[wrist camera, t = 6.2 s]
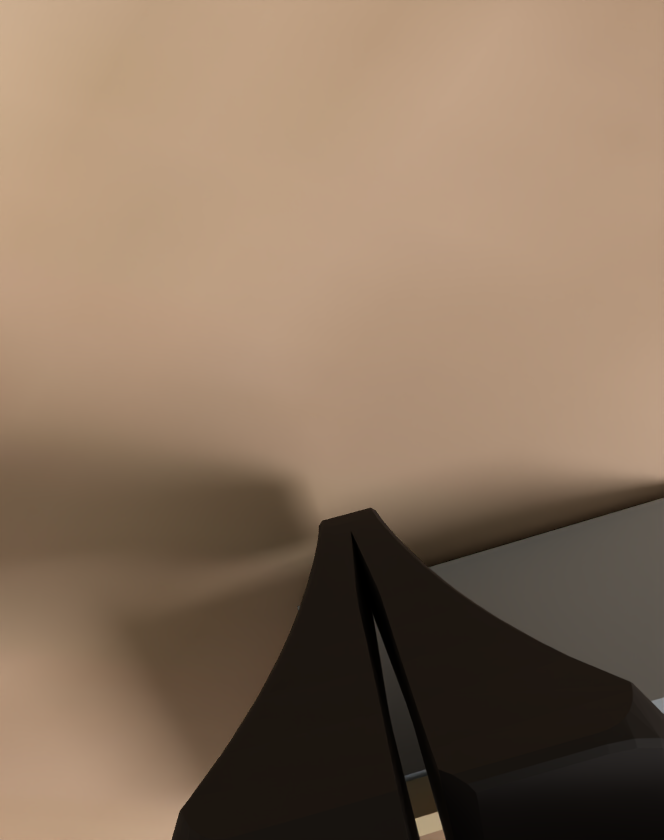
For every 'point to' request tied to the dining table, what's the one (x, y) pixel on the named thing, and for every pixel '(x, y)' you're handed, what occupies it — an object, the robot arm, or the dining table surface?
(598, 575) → the door
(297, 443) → the dining table surface
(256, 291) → the dining table surface
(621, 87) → the dining table surface
